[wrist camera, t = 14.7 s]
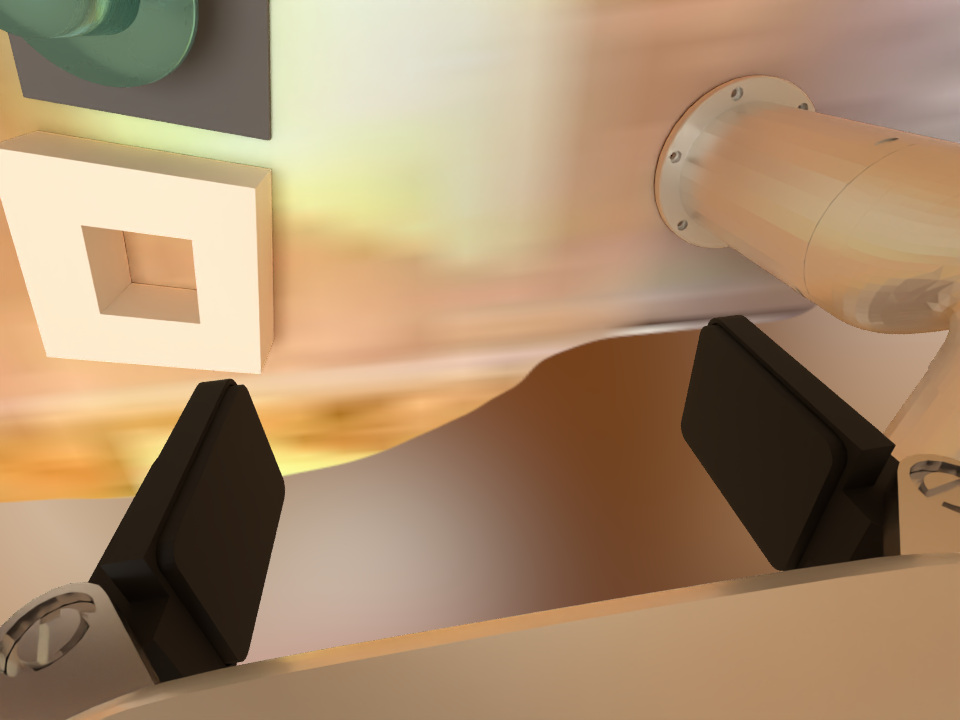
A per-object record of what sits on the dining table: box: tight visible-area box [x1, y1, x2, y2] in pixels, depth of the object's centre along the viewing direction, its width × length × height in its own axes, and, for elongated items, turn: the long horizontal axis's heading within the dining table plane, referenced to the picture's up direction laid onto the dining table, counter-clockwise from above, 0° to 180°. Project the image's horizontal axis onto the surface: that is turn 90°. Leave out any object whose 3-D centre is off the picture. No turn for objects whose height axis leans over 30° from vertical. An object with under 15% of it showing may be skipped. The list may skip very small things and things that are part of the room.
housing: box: [0, 131, 274, 374], centre depth 36 cm, size 14×14×5 cm
